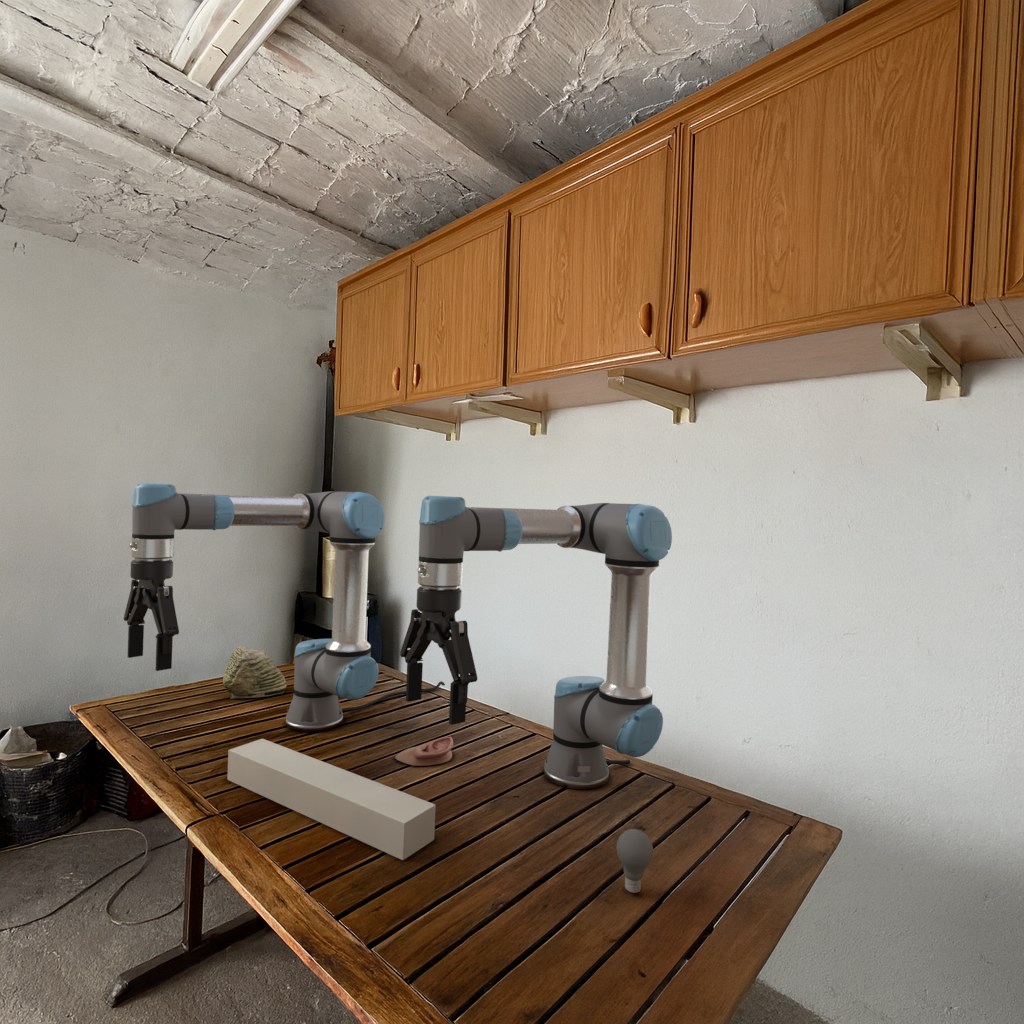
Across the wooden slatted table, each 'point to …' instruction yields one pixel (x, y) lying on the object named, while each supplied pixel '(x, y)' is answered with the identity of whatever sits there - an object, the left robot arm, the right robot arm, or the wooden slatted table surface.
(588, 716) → the right robot arm
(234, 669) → the fossil
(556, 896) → the wooden slatted table surface
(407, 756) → the anatomical model
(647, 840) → the light bulb
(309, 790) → the thick board
